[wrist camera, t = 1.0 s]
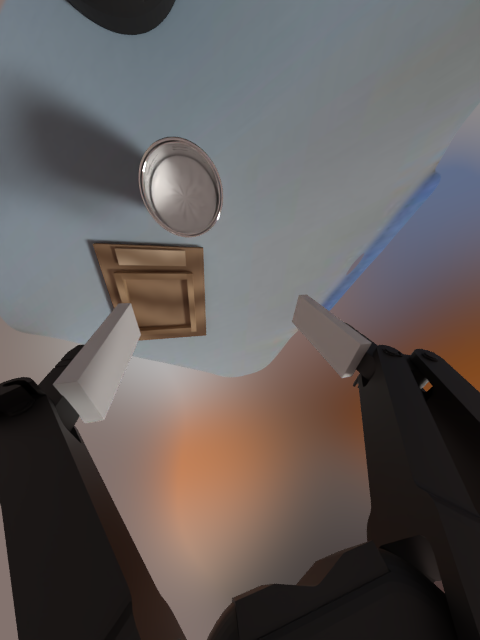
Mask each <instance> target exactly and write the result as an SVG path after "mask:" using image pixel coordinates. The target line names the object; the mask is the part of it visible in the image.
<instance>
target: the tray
mask: <svg viewBox="0 0 480 640" xmlns="http://www.w3.org/2000/svg"><path fill="white" fill-rule="evenodd" d="M93 247H94V250H95V253H96V256H97V259H98V262H99V265H100V268H101V271H102V274H103V277H104V280H105V283H106V286H107V289H108V292H109V295H110V298H111V301H112V304H113V307H114V308H115V307H116V306H117V305H118V304H121V303H131V305H132V308H133V311H134V315H135V318H136V321H137V324H138V327H139V330H140V333H141V336H140V338H139V340H151V339H164V338H177V337H190V336H203V335H206V317H205V289H204V261H203V248H201V247H178V246H155V245H132V244H109V243H94V244H93Z"/></svg>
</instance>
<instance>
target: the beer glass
mask: <svg viewBox="0 0 480 640" xmlns="http://www.w3.org/2000/svg"><path fill="white" fill-rule="evenodd" d="M138 179H139V188H140V193H141V196H142V199H143V202H144V204H145V206H146V208H147V210H148V211H149V213H150V215H151V216H152V217H153V218H154V220H155V221H156V222H157V223H158V224H159V225H160V226H162V227H163V228H164V229H166V230H167V231H169V232H171V233H173V234H175V235H178V236H182V237H196V236H200V235H202V234H204V233H206V232H207V231H209V230H210V229H211V228H212V227H213V226H214V225H215V223H216V222H217V220H218V218H219V216H220V213H221V210H222V205H223V188H222V183H221V179H220V176H219V173H218V171H217V169H216V167H215V165H214V163H213V162H212V160H211V159H210V157H209V156H208V155H207V154H206V153H205V152H204V151H203V150H202V149H201V148H200V147H199V146H197V145H196V144H194V143H193V142H191V141H189V140H187V139H184V138H180V137H166V138H162V139H160V140H158V141H156V142H154V143H153V144H152V145H151V146H150V147H149V148H148V149H147V150H146V152H145V153H144V155H143V157H142V160H141V163H140V167H139V176H138Z"/></svg>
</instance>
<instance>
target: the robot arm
mask: <svg viewBox="0 0 480 640" xmlns="http://www.w3.org/2000/svg"><path fill="white" fill-rule="evenodd" d="M68 1H69V2H70V3H71V4H72V5H73V6H74V7H75V8H77V9H78V10H79V11H80V12H81V13H83V14H84V15H85V16H87V17H88V18H89V19H91V20H92V21H94V22H95V23H97V24H99V25H100V26H102V27H104V28H106V29H109V30H111V31H114V32H117V33H121V34H127V35H137V34H142V33H146V32H148V31H150V30H152V29H154V28H155V27H157V26H158V25H159V24H160V23H161V22H162V21H163V20H164V19H165V18H166V17H167V15H168V14H169V12H170V10H171V9H172V7H173V5H174V2H175V0H68ZM292 322H293V323H294V324H295V326H296V327H297V328H298V329H299V330H300V331H301V332H302V334H303V335H304V336H305V337H306V338H307V339H308V340H309V341H310V342H311V344H312V345H313V346H314V347H315V348H316V349H317V350H318V352H319V353H320V354H321V355H322V356H323V357H324V358H325V359H326V361H327V362H328V363H329V364H330V365H331V366H332V367H333V368H334V369H335V371H336V372H337V373H338V374H339V375H340V376H341V377H342V378H345V377H350V376H352V375H353V374H354V372H355V370H357V371H359V373H360V374H359V376H358V377H357V379H356V380H355V382H354V384H353V386H355V385H356V384H359V386H358V388H359V393H360V403H361V412H362V421H363V431H364V441H365V450H366V459H367V469H368V478H369V488H370V497H371V513H370V516H369V519H368V523H367V542H365V543H362V544H359V545H356V546H353V547H350V548H347V549H344V550H341V551H338V552H336V553H334V554H331V555H329V556H327V557H325V558H322V559H320V560H318V561H316V562H315V563H314V564H313V565H312V567H311V568H310V569H309V570H308V571H307V572H306V574H305V575H304V576H303V577H302V578H301V579H300V581H299V582H298V583H297V584H296V585H284V584H269V585H261V586H259V587H256V588H254V589H252V590H250V591H248V592H245V593H243V594H241V595H238V596H236V597H234V598H232V603H231V604H230V605H229V606H228V607H227V608H226V610H225V611H224V612H223V613H222V615H221V616H220V618H219V619H218V620H217V622H216V624H215V625H214V627H213V629H212V631H211V632H210V634H209V636H208V639H207V640H480V392H479V391H478V390H476V389H475V388H474V387H473V386H472V385H471V384H470V383H469V382H468V381H467V380H465V379H464V378H463V377H462V376H461V375H460V374H459V373H458V372H457V371H456V370H454V369H453V368H452V367H451V366H450V365H449V364H448V363H447V362H446V361H445V360H444V359H442V358H441V357H440V356H438V355H436V354H435V353H433V352H430V351H428V350H423V349H416V350H414V352H413V353H412V354H411V355H404V354H402V353H401V352H400V351H398V350H396V349H395V348H392V347H390V346H386V345H378V346H377V345H376V344H375V343H374V342H372V341H371V340H369V339H368V338H367V337H365V336H364V335H363V334H361V333H359V332H358V331H357V330H355V329H354V328H353V327H351V326H350V325H349V324H347V323H345V322H343V321H342V320H340V319H339V318H337V317H336V316H335V315H333V314H332V313H331V312H329V311H328V310H327V309H325V308H324V307H323V306H321V305H320V304H319V303H317V302H316V301H315V300H313V299H312V298H311V297H309V296H308V295H299V297H298V301H297V305H296V309H295V313H294V316H293V320H292ZM140 336H141V333H140V330H139V327H138V324H137V321H136V318H135V315H134V311H133V308H132V305H131V303H121V304H118V305H117V306H116V307H115V308H114V310H113V311H112V312H111V313H110V315H109V316H108V317H107V318H106V320H105V321H104V322H103V323H102V324H101V326H100V327H99V328H98V329H97V331H96V332H95V333H94V334H93V335H92V337H91V338H90V339H89V340H88V342H87V343H86V344H85V345H78V346H76V347H75V348H73V349H72V350H70V351H69V352H68V353H67V354H66V355H65V356H64V357H63V358H62V359H61V361H60V362H59V363H58V364H57V365H56V366H55V368H53V369H52V371H51V372H50V373H49V374H48V375H47V376H46V377H45V378H44V380H43V381H42V382H41V383H40V384H39V385H37V384H36V383H35V382H34V381H33V380H32V379H31V378H27V377H21V378H16V379H12V380H9V381H6V382H3V383H1V384H0V503H1V508H2V516H3V523H4V531H5V539H6V547H7V554H8V562H9V569H10V577H11V585H12V592H13V600H14V607H15V616H16V623H17V631H18V639H19V640H187V639H186V637H185V635H184V634H183V631H182V629H181V628H180V626H179V624H178V622H177V620H176V618H175V616H174V614H173V612H172V610H171V609H170V607H169V606H168V604H167V603H166V601H165V600H164V599H163V597H162V596H161V595H160V593H159V591H158V590H157V588H156V586H155V584H154V582H153V580H152V578H151V576H150V574H149V572H148V570H147V568H146V566H145V564H144V562H143V560H142V558H141V556H140V554H139V552H138V550H137V548H136V546H135V544H134V542H133V540H132V538H131V536H130V534H129V532H128V530H127V528H126V526H125V524H124V522H123V520H122V518H121V516H120V514H119V512H118V510H117V508H116V506H115V504H114V502H113V500H112V498H111V496H110V494H109V492H108V490H107V488H106V486H105V484H104V482H103V480H102V478H101V476H100V474H99V472H98V470H97V468H96V466H95V464H94V462H93V460H92V458H91V456H90V454H89V452H88V450H87V448H86V446H85V444H84V442H83V440H82V438H81V436H80V434H79V432H78V430H77V428H76V427H75V426H74V425H75V423H76V421H77V420H78V418H79V417H80V418H81V419H82V420H83V422H84V423H90V422H96V421H101V420H104V419H105V417H106V415H107V412H108V410H109V408H110V405H111V403H112V400H113V398H114V396H115V394H116V391H117V389H118V387H119V384H120V382H121V380H122V377H123V375H124V373H125V370H126V368H127V366H128V363H129V361H130V359H131V357H132V354H133V352H134V350H135V347H136V345H137V343H138V340H139V338H140ZM428 382H430V383H431V384H432V386H433V387H432V388H430V389H429V390H428V391H427V392H426V391H425V390H424V389H423V387H424V386H425V385H426V384H427V383H428ZM440 580H442V584H443V587H444V591H445V593H444V592H442V591H441V590H440V589H439V588H438V587H437V586H436V585H435V584H434V582H435V581H440Z"/></svg>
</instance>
